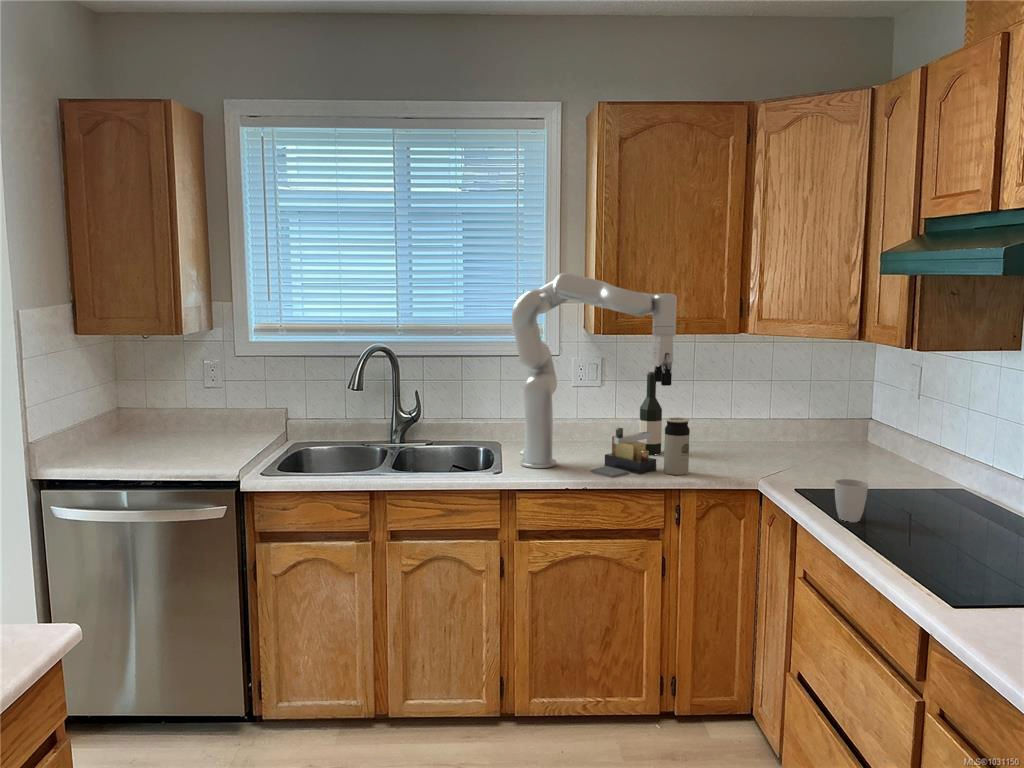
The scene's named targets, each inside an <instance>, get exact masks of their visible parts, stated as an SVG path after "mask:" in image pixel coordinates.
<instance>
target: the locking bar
mask: <svg viewBox="0 0 1024 768" xmlns="http://www.w3.org/2000/svg"><path fill="white" fill-rule="evenodd" d="M615 436H616V437H614V443H615V444H622V443H628V442H633V441H638V442H639V440H644V439H649V438H651V432H641V433H640V432H637V433H631V434H625V435H624V428H623V427H616V428H615Z"/></svg>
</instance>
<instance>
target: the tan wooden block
mask: <svg viewBox="0 0 1024 768" xmlns="http://www.w3.org/2000/svg"><path fill="white" fill-rule="evenodd" d="M643 450H645V443H643V442H639V440H638V441H633V442H628V443H622V444H616V447H615V456H617V457H622V458H626V459H631V460H636V459H641V451H643Z"/></svg>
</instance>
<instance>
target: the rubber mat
mask: <svg viewBox="0 0 1024 768" xmlns="http://www.w3.org/2000/svg"><path fill="white" fill-rule="evenodd" d="M589 472H590V473H593V474H597V475H600V476H605V477H609V478H616V477H621V476H625V475H629V474H630V472H629V471H625V470H621V469H617V468H613V467H609V466H605V465H604V466H600V467H595V468H591V469H589Z"/></svg>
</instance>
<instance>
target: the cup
mask: <svg viewBox="0 0 1024 768" xmlns="http://www.w3.org/2000/svg"><path fill="white" fill-rule="evenodd" d="M868 489H869V483H867V482H865V481H863V480H857V479H852V478H841V479H836V480H835V481H834V500H835V508H836V513H837V516H838V519H839V520H840V519H841V520H840V521H842V520H844V521H843V522H845V521H849V522H848V523H858V521H859V522H860V520H861V518H862V517H863V513H864V510H865V506H866V502H867V497H868V496H867V495H868Z"/></svg>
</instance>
